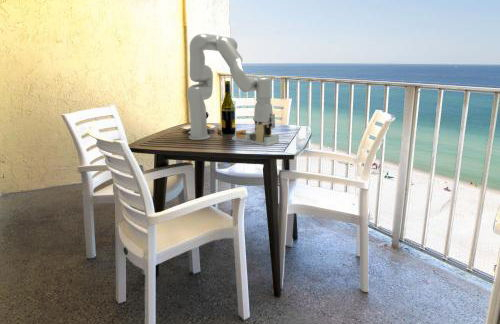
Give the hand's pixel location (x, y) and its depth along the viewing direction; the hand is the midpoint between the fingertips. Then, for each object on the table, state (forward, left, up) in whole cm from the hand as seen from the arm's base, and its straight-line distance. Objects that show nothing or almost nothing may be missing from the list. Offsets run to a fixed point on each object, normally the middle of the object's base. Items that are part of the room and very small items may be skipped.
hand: (263, 133), depth 207 cm
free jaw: (-12, 0, -3) cm, 13 cm away
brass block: (0, 0, -4) cm, 4 cm away
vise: (-7, 0, -5) cm, 9 cm away
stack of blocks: (-27, +32, -6) cm, 43 cm away
